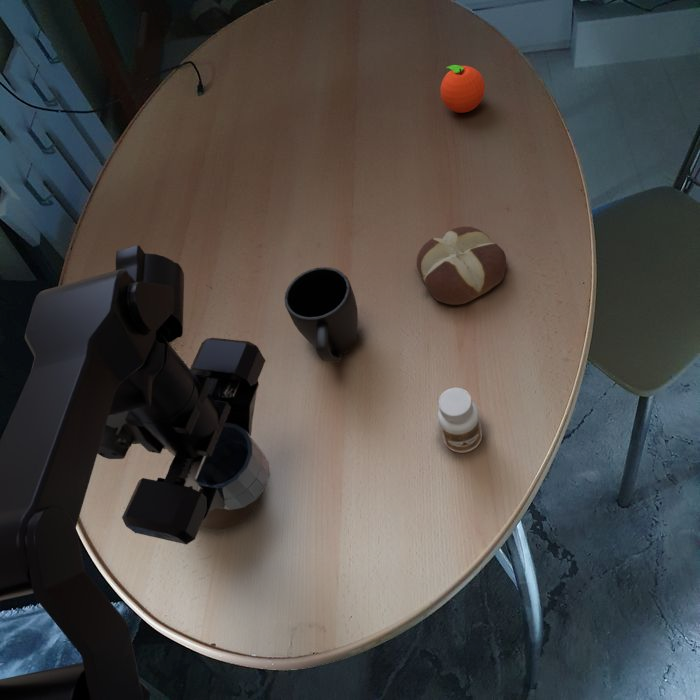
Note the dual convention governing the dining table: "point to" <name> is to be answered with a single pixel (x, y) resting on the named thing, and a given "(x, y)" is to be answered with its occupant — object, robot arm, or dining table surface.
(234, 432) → the blue cup
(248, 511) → the stand
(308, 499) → the dining table surface
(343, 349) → the mug
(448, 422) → the pill bottle
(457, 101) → the clementine
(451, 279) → the bread
